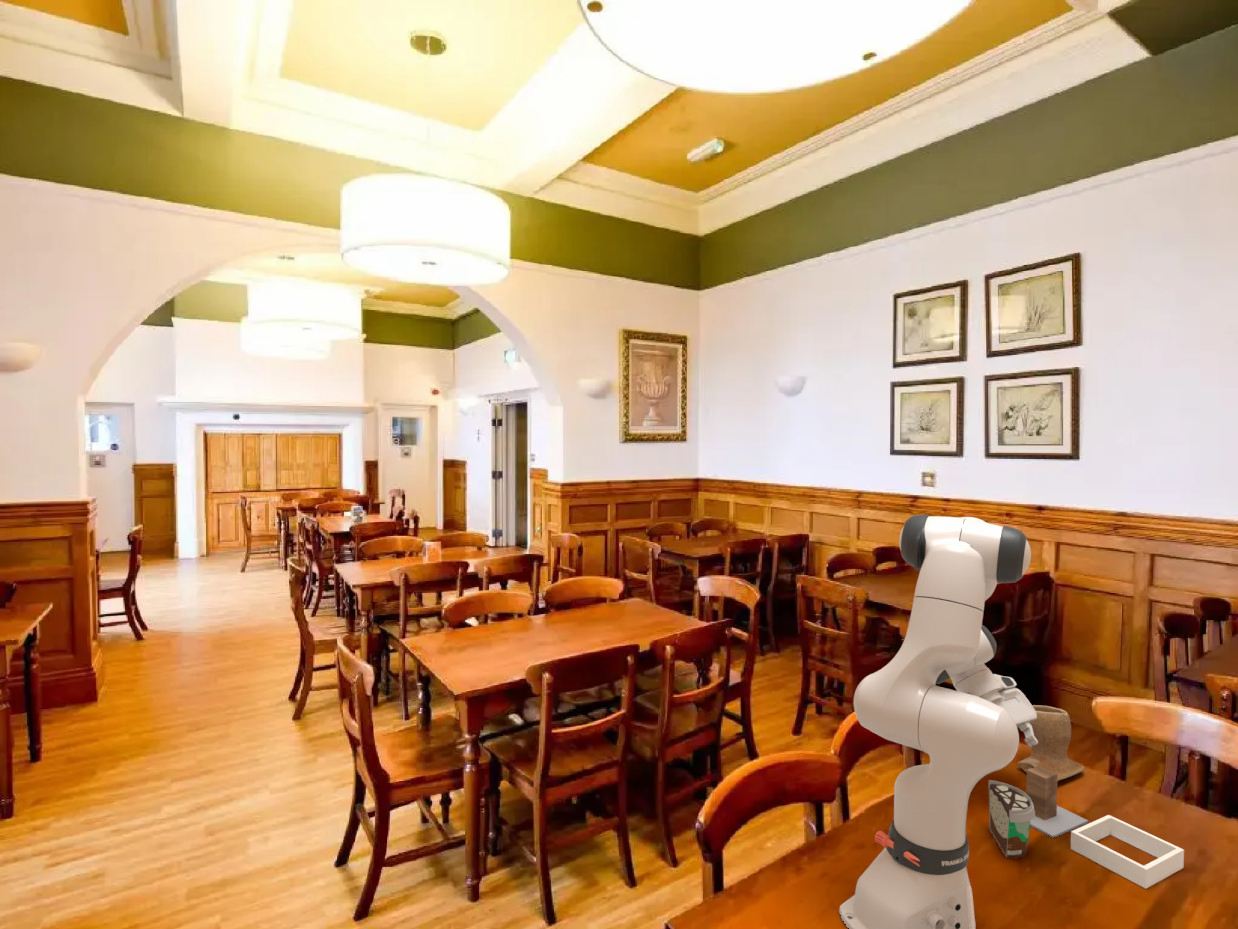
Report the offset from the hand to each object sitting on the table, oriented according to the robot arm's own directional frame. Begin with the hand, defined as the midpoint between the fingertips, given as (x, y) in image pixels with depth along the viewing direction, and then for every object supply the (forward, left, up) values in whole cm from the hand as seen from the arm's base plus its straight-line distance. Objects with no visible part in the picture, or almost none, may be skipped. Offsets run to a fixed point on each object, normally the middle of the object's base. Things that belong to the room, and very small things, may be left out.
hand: (1020, 749), depth 145 cm
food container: (-15, -9, -12) cm, 21 cm away
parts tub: (0, -21, -12) cm, 24 cm away
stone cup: (+20, +6, -12) cm, 24 cm away
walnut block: (0, -5, -12) cm, 13 cm away
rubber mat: (0, -5, -12) cm, 13 cm away
